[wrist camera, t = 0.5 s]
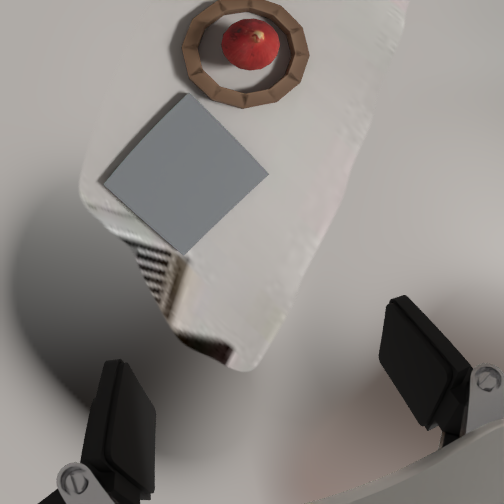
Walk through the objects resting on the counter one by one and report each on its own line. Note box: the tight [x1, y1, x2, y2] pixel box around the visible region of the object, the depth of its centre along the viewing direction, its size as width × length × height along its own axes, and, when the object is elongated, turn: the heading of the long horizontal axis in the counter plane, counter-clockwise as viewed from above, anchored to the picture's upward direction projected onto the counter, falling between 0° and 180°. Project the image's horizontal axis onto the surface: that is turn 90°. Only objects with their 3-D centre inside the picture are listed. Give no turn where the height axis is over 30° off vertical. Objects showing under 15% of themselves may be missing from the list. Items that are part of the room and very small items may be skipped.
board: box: [103, 93, 269, 255], centre depth 34 cm, size 14×13×1 cm
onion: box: [221, 19, 280, 70], centre depth 26 cm, size 6×6×8 cm
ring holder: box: [182, 0, 309, 109], centre depth 28 cm, size 14×14×2 cm
